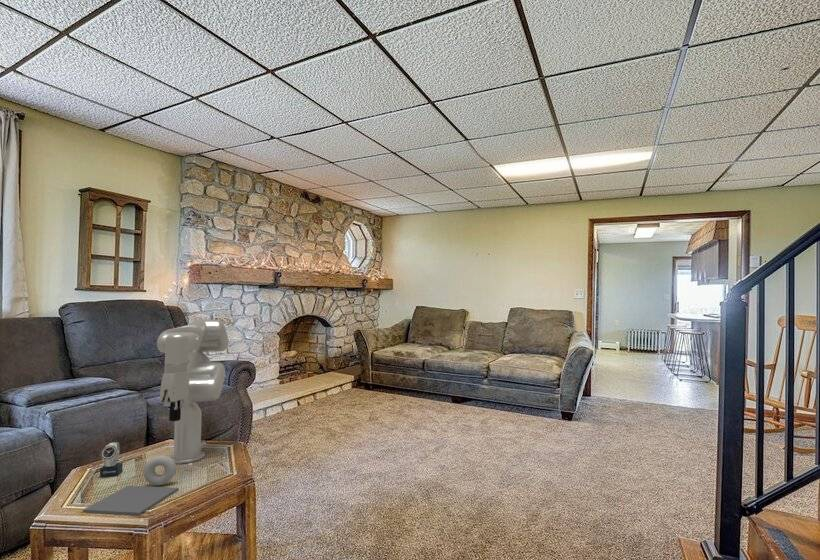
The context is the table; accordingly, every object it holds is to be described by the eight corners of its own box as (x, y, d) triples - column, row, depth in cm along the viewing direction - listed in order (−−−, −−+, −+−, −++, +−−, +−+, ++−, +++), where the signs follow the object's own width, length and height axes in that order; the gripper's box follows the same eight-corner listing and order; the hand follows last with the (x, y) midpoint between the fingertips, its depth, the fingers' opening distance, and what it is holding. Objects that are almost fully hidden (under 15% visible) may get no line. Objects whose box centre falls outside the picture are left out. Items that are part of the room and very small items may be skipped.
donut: (140, 488, 139) (141, 457, 140) (145, 484, 142) (146, 454, 143) (173, 486, 141) (174, 455, 142) (177, 481, 144) (178, 452, 145)
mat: (127, 488, 140) (128, 485, 140) (178, 490, 138) (178, 487, 138) (82, 512, 123) (82, 509, 123) (139, 515, 121) (139, 512, 121)
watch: (97, 479, 147) (98, 447, 147) (107, 471, 154) (108, 440, 155) (115, 478, 148) (117, 446, 149) (124, 469, 156) (125, 439, 157)
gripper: (180, 365, 159) (178, 415, 157) (152, 371, 144) (149, 425, 143) (199, 365, 158) (197, 415, 157) (172, 371, 143) (170, 426, 142)
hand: (174, 420), depth 150 cm, fingers closed
